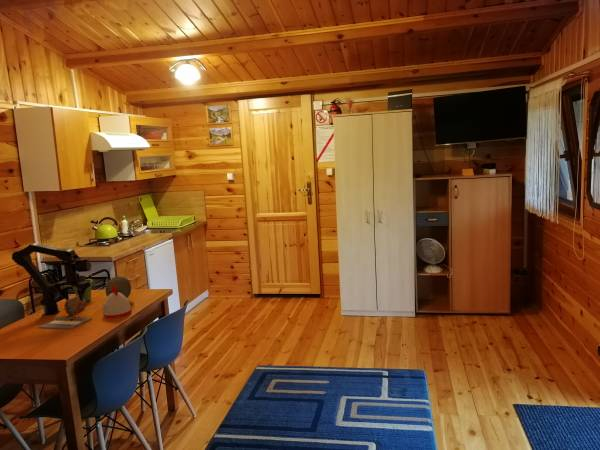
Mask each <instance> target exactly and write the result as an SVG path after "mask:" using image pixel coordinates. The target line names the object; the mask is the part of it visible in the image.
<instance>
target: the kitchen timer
mask: <svg viewBox="0 0 600 450" xmlns="http://www.w3.org/2000/svg"><path fill="white" fill-rule="evenodd" d="M111 290H112V293H111V294H110V295H109V296H108V297H107V296H106V297H107V298H106V300H105V301H104V302H103V303H102V314H103V315H102V316H103V318H104V319H118V318H123V317H127V316H128V315H130V314H131V313H132V307H131V302H130V300H129V299H128V298H126V297H125V296H124V295H123V294H121V293H119V292H117V289H116V287H115V286H112V288H111Z"/></svg>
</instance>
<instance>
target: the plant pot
mask: <svg viewBox="0 0 600 450" xmlns="http://www.w3.org/2000/svg"><path fill="white" fill-rule="evenodd" d="M81 282H83V281H81ZM81 282H79V283H81ZM85 282H90V287H88V288H87V289H86V290H85V293H84V296H85V298H86V302H87V301H90V300H91V299H92V284H93V282H94V281H93V279H92V278H91V279H90V278H89V279H88V278H87V279H85ZM72 289H73V291H74V294H75V296H77V295H78V292H77V290H78V288H77V287H72Z"/></svg>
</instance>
